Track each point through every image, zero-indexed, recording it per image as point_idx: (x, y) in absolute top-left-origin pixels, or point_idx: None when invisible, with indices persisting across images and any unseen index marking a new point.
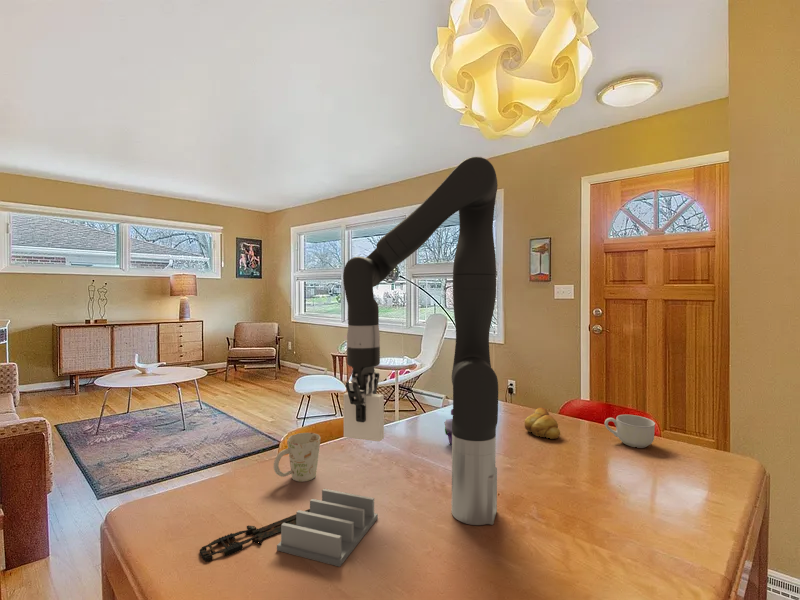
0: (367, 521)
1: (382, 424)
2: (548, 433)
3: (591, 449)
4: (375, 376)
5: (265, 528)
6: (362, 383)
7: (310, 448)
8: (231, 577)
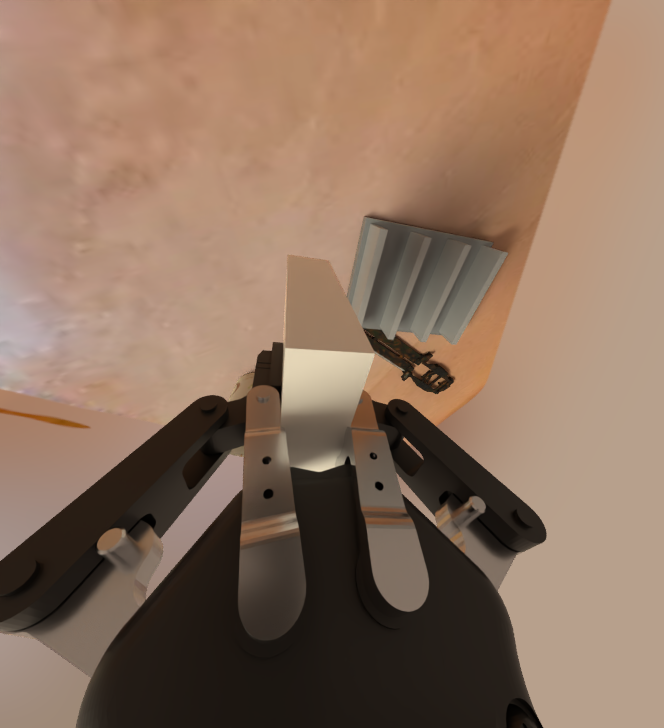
0: (394, 230)
1: (303, 273)
2: None
3: None
4: (84, 567)
5: (402, 363)
6: (425, 521)
7: None
8: (478, 349)
